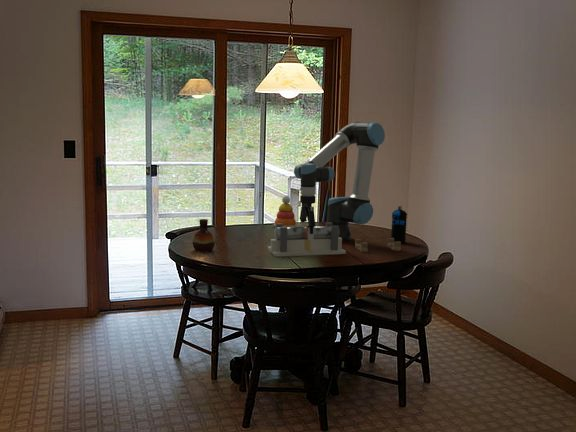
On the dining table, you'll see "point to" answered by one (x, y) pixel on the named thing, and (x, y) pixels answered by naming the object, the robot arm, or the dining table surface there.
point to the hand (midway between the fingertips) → (306, 237)
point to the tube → (305, 232)
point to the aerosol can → (399, 225)
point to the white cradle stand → (306, 244)
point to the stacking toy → (285, 214)
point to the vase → (203, 238)
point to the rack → (390, 244)
